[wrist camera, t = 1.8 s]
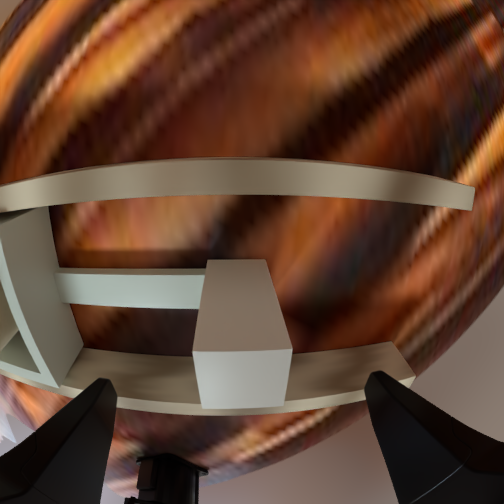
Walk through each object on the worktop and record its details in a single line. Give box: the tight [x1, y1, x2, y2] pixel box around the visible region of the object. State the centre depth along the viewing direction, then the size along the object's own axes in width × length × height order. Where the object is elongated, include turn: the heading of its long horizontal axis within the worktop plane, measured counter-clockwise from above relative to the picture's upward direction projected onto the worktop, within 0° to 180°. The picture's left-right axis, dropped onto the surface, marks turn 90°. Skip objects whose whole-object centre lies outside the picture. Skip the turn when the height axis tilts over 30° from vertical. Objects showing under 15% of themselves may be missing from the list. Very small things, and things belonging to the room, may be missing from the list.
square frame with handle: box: [0, 206, 293, 409], centre depth 11 cm, size 22×10×7 cm, turn 89°
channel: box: [0, 157, 475, 416], centre depth 10 cm, size 36×13×9 cm, turn 89°
